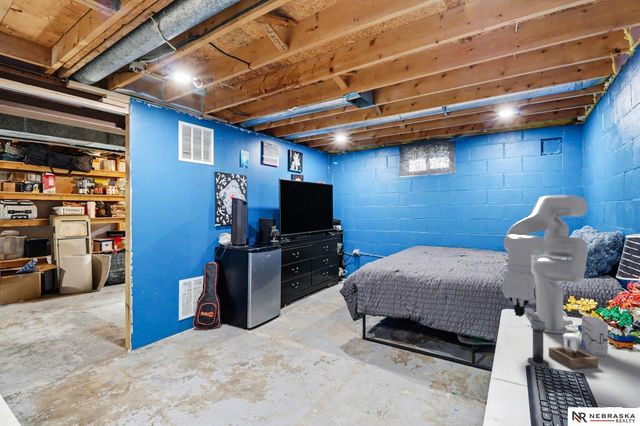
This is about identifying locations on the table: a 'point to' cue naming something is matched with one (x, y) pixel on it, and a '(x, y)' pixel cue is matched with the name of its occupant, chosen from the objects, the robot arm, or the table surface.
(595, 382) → the table surface
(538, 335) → the post
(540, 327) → the lever
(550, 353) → the square wooden tray
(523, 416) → the table surface
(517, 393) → the table surface
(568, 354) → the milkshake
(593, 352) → the ink box
